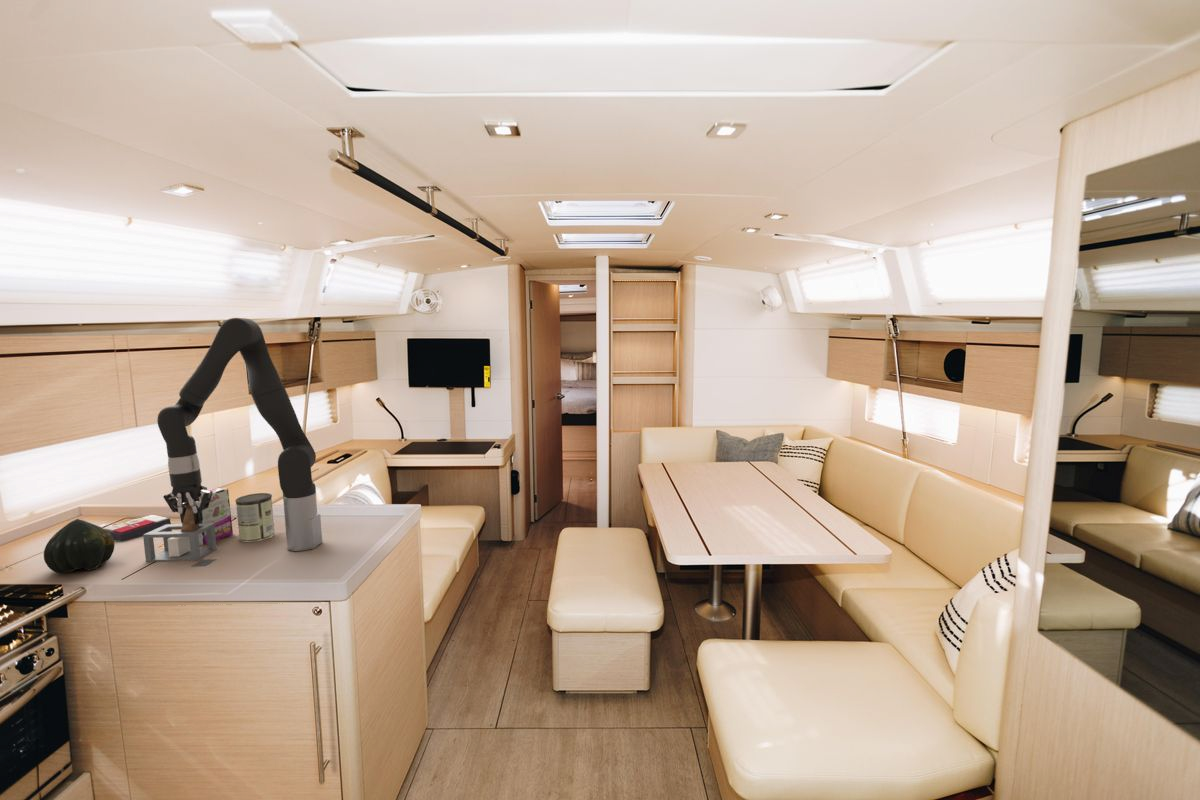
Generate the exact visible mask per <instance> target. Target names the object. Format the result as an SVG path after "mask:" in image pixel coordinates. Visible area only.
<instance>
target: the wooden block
mask: <svg viewBox="0 0 1200 800" xmlns="http://www.w3.org/2000/svg"><path fill="white" fill-rule="evenodd" d="M201 486H202V487H203V490H206V491H208V487H206V486H203V485H201ZM201 496H202V494H201V495H200V498H201V501H202V497H201ZM194 502H196V501H194ZM193 513H194V512H193V509H192V507H191V506H190V504H189V502H188V504H187V507H186V511H185V515H184V520H183V523H181V524H182V528H181V529H180V531H195V530H197V529H198V528H199V524H195V519H194V515H193Z"/></svg>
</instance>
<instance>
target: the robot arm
mask: <svg viewBox="0 0 1200 800" xmlns="http://www.w3.org/2000/svg"><path fill="white" fill-rule="evenodd" d="M217 330H218V331H217V332H216V334H215V337H214V339H213V341H212V343H211V345H210V347H209V348H208V350H207V352H206V354H205V355H204V357H203V358H202V359H201V362H199V364H198V366H197V367H196V369H195V370H194V371H193V373H192V374H191V375H190V377H189V378H188V379H187V380H186V382H185V383H184V384H183V386H182V387H181V388H180V391H179V392H178V393H179V399H178V400H177V402H175V404H174V405H169V406H166V407H164V408H162V409H161V410H160V411H159V413H158V414H157V420H156V421H157V426H158V429H159V432H160V433H161V437H162V438H163V441H164V442H165V444H166V445H165V446H166V453H167V465H168V466H167V468H168V473H169V481H170V487H171V488H172V489H171V492H169V493H167V494H165V495H163V499H164V501H165V502H166V504H167V506H168V507H169V509H170V510H171V511H172V513H178V514H179V516H180V524H183V520H184V515H185V511H186V507H187V504H188V502H189V504H190V506H191V507H192V509H193V512H194V513H193V515H194V519H195V524H200V523H202V521H203V515H202V510H204V509H206V508H208V506H209V503H210V500H211V497H212V494H213V492H212V491H209V490H207V491H206V490H203V487H202V486H203V485H202V482H203V480H202V473H201V467H200V459H199V457H198V454H197V453H198V451H197V445H196V440H195V438H194V436H192V435H189V433H188V430H187V427H188V426H190V425H192V424H193V423H195V421H196V419H197V418H198V416H200V414H201V411H202V410H203V406H204V404H205V402H207V400H208V399H209V397H211V395H212V394H213V392H214V391H215V389H217V386H219V383H220V381H221V379H222V376H223V374H224V372H225V370H226V368H227V366H228V364H229V362H230V361H231V360H233V358H234V356H236V354H237V353H240V355H241V358H242V359H243V361H244V364H245V367H246V369H247V378H248V380H247V381H248V388H249V392H250V395H251V398H252V400H253V402H254V404H255V407H256V409H257V411H258V412H259V414H260V416H261V417H262V419H263V420H265V422H266V423H267V424H268V425H269V426H270V427H271V429H272V430H274V432H275V434H276V435H277V438H278V439H279V442H280V445H281V447H282V449H283V450H282V451H281V452H280V454H279V455H278V458H277V470H278V471H277V472H278V480H279V487H280V490H281V492H282V497H283V499H282V500H283V511H284V512H283V514H284V526H285V536H286V539H285V540H286V548H287V550H288V551H291V552H299V551H300V552H301V551H306V550H307V551H308V550H314V549H315V548H316V547H317V546H319V545H320V544H322V543H323V536H322V535H323V534H322V532H323V531H322V520H321V514H319V513H318V502H317V489H316V487H317V486H316V484H315V483H314V482H313V478H312V477H313V476H312V467H313V466H314V464H315V463H316V460H317V459H316V457H317V455H316V452H315V451H316V450H314V448H313V446H312V444H311V443H310V440H309V439H308V437H307V435H306V434H305V431H304V430H303V428H302V426H301V424H300V421H299V419H298V417H297V413H296V412H295V409H294V407H293V405H292V402H291V399H290V397H289V394H288V392H287V390H286V387H285V386H284V383H283V382H282V379H281V377H280V374H279V373H278V371H277V369H276V367H275V365H274V362H273V361H272V358H271V355H270V353H269V350H268V347H267V346H268V345H267V343H266V340H265V337H264V334H263V330H262V329H261V327H260V325H259V324H258V323H256V322H255V321H254V320H252V319H249V318H244V317H232V318H231V317H230V318H229V319H226V320H225V321H223V322H222V324H221V325H220V327H219V328H218V329H217ZM201 494H202V496H201V497H202V501H201V498H200V495H201ZM194 501H196V502H194Z"/></svg>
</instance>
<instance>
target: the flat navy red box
mask: <svg viewBox="0 0 1200 800" xmlns="http://www.w3.org/2000/svg"><path fill="white" fill-rule="evenodd" d="M166 524H172V523H171V518H168V517H164V516H160V515H154V514H150V515H145V516H143V517H138V518H134V519H132V520H131V519H130V520H128V521H124V522H123V523H118V524H115V525H111V526H107V527H105V528H104V529H105V530H107V531H108V532H110V533H111V535H112V536H113V538H114V541H117V542H125V541H128V540H133V539H135V538H140V537H143V534H146V533H148V532H150V531H152V530H155V529H157V528H159V527H161V526H164V525H166Z"/></svg>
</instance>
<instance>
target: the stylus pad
mask: <svg viewBox="0 0 1200 800" xmlns="http://www.w3.org/2000/svg"><path fill="white" fill-rule="evenodd" d="M216 561H218V559H217V558H207V559H205V558H203V559H200V560H199V561H197V562H196V563H194V564H192V565H191V567H207V566H208V565H211V564H212V563H213V562H216Z"/></svg>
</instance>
